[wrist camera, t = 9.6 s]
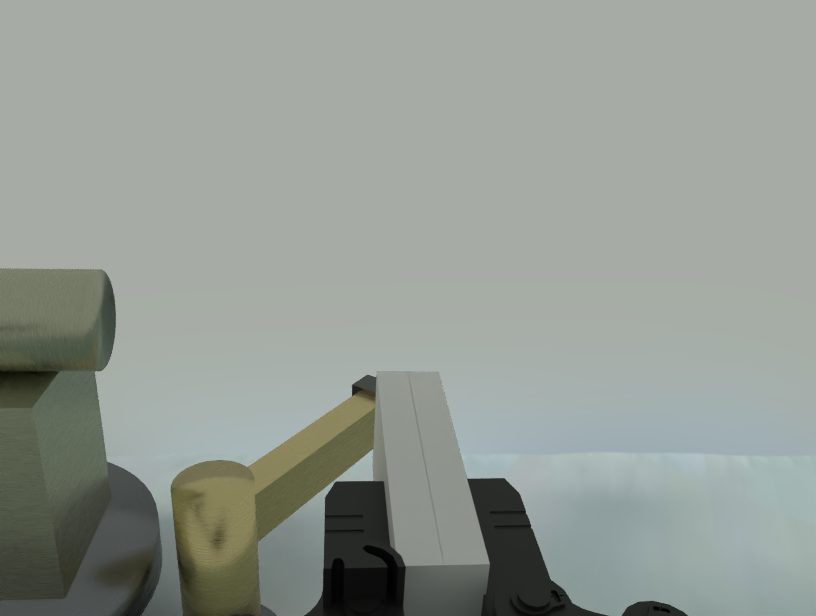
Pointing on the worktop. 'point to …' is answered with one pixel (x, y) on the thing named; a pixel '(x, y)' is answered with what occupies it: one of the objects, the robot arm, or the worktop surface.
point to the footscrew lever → (258, 504)
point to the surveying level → (66, 457)
